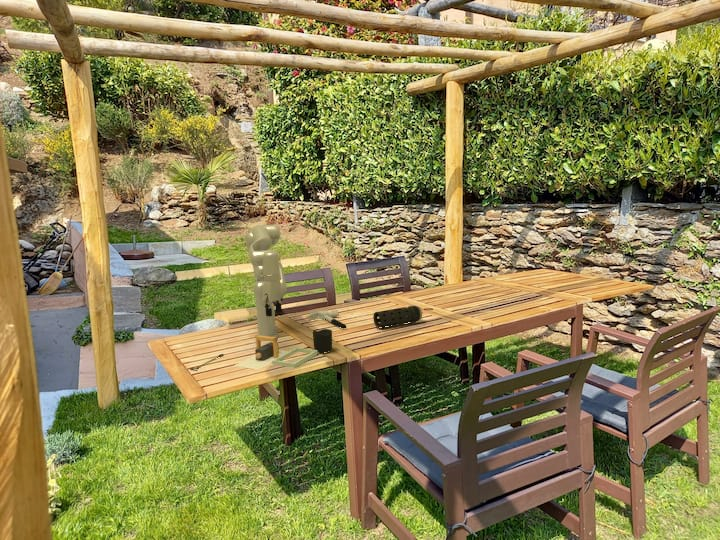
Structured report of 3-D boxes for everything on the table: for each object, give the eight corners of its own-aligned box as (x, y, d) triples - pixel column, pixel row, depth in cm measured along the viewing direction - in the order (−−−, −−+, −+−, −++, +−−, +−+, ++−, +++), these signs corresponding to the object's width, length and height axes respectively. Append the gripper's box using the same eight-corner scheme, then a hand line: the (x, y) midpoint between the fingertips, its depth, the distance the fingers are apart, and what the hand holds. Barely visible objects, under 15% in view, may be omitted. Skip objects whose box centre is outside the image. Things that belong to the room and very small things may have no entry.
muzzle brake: (373, 327, 272) (372, 309, 270) (414, 320, 284) (413, 303, 282) (381, 331, 263) (381, 313, 262) (423, 324, 276) (423, 306, 274)
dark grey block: (272, 351, 231) (272, 341, 230) (280, 352, 229) (279, 342, 229) (254, 360, 218) (253, 350, 218) (262, 361, 217) (261, 351, 216)
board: (268, 349, 236) (268, 348, 236) (291, 353, 230) (291, 351, 230) (233, 367, 213) (233, 365, 213) (258, 371, 207) (258, 369, 207)
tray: (296, 352, 231) (296, 347, 231) (317, 355, 226) (317, 350, 226) (272, 365, 213) (272, 360, 213) (294, 369, 208) (294, 363, 208)
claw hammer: (358, 320, 273) (335, 308, 299) (323, 326, 263) (302, 313, 288) (358, 329, 274) (335, 316, 300) (324, 335, 264) (303, 322, 289)
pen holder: (316, 348, 237) (315, 328, 235) (334, 348, 235) (333, 329, 234) (311, 354, 228) (310, 334, 226) (330, 354, 226) (329, 334, 225)
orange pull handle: (259, 353, 227) (258, 335, 226) (278, 356, 222) (277, 337, 221) (256, 355, 225) (255, 336, 224) (276, 357, 221) (274, 338, 219)
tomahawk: (201, 374, 209) (201, 371, 208) (189, 371, 211) (189, 368, 211) (232, 358, 227) (232, 355, 227) (221, 355, 230) (221, 353, 230)
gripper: (276, 274, 234) (278, 309, 237) (253, 280, 218) (256, 317, 221) (288, 275, 231) (290, 310, 233) (267, 281, 215) (269, 319, 218)
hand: (273, 313), depth 227 cm, fingers open, 7 cm apart
